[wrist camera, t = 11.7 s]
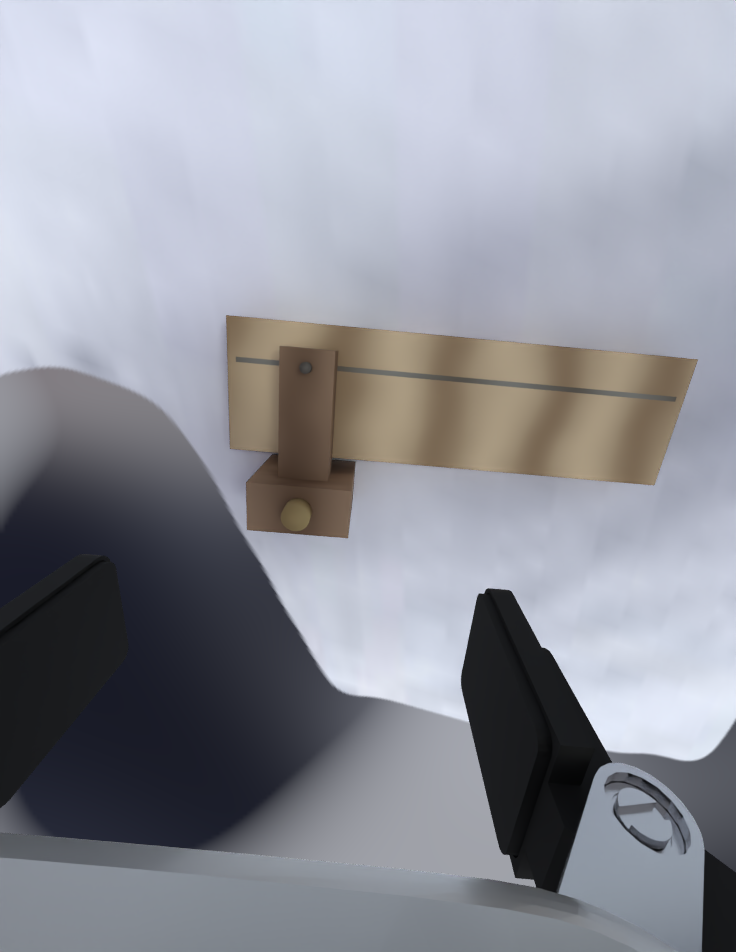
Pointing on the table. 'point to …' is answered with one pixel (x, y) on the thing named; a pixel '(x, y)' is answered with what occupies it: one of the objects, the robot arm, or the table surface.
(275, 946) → the robot arm
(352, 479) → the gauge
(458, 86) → the table surface
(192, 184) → the table surface
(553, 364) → the board
